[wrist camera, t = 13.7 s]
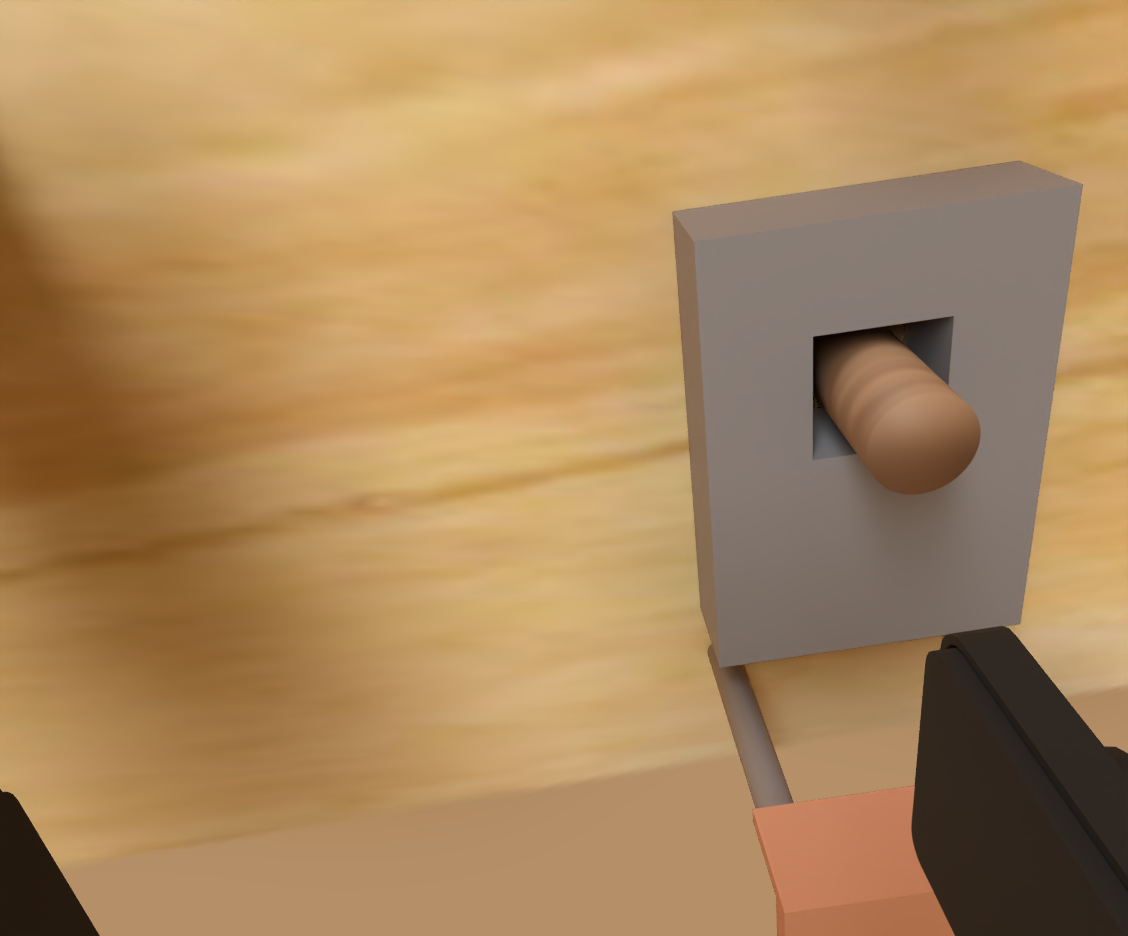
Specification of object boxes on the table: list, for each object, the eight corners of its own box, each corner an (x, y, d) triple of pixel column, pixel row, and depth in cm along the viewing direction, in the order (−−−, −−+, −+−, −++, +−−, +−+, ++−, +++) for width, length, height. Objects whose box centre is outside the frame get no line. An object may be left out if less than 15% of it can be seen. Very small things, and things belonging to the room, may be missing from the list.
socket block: (672, 211, 37) (694, 241, 33) (1019, 160, 37) (1082, 184, 33) (700, 608, 46) (719, 667, 42) (975, 568, 46) (1020, 624, 42)
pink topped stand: (676, 562, 45) (784, 912, 28) (1001, 515, 45) (1299, 839, 28) (687, 685, 49) (787, 1057, 32) (985, 641, 49) (1240, 992, 32)
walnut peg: (794, 313, 39) (869, 402, 31) (887, 299, 39) (985, 385, 31) (795, 398, 41) (865, 501, 33) (883, 385, 41) (975, 485, 33)
